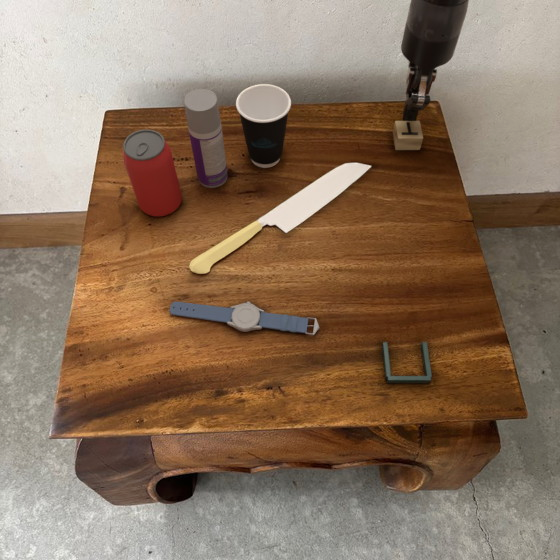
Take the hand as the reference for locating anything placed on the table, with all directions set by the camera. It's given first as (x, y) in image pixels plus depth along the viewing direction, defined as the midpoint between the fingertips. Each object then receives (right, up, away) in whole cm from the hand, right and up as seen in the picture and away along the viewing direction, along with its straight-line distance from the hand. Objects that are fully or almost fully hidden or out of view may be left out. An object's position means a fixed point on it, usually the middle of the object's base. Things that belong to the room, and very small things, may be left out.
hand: (408, 118), depth 90 cm
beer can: (-39, -15, -6) cm, 42 cm away
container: (-32, -10, -4) cm, 34 cm away
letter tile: (-1, -4, 0) cm, 4 cm away
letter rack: (-5, -37, -20) cm, 43 cm away
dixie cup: (-23, -7, -2) cm, 24 cm away
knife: (-20, -17, -8) cm, 27 cm away
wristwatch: (-26, -32, -17) cm, 44 cm away
